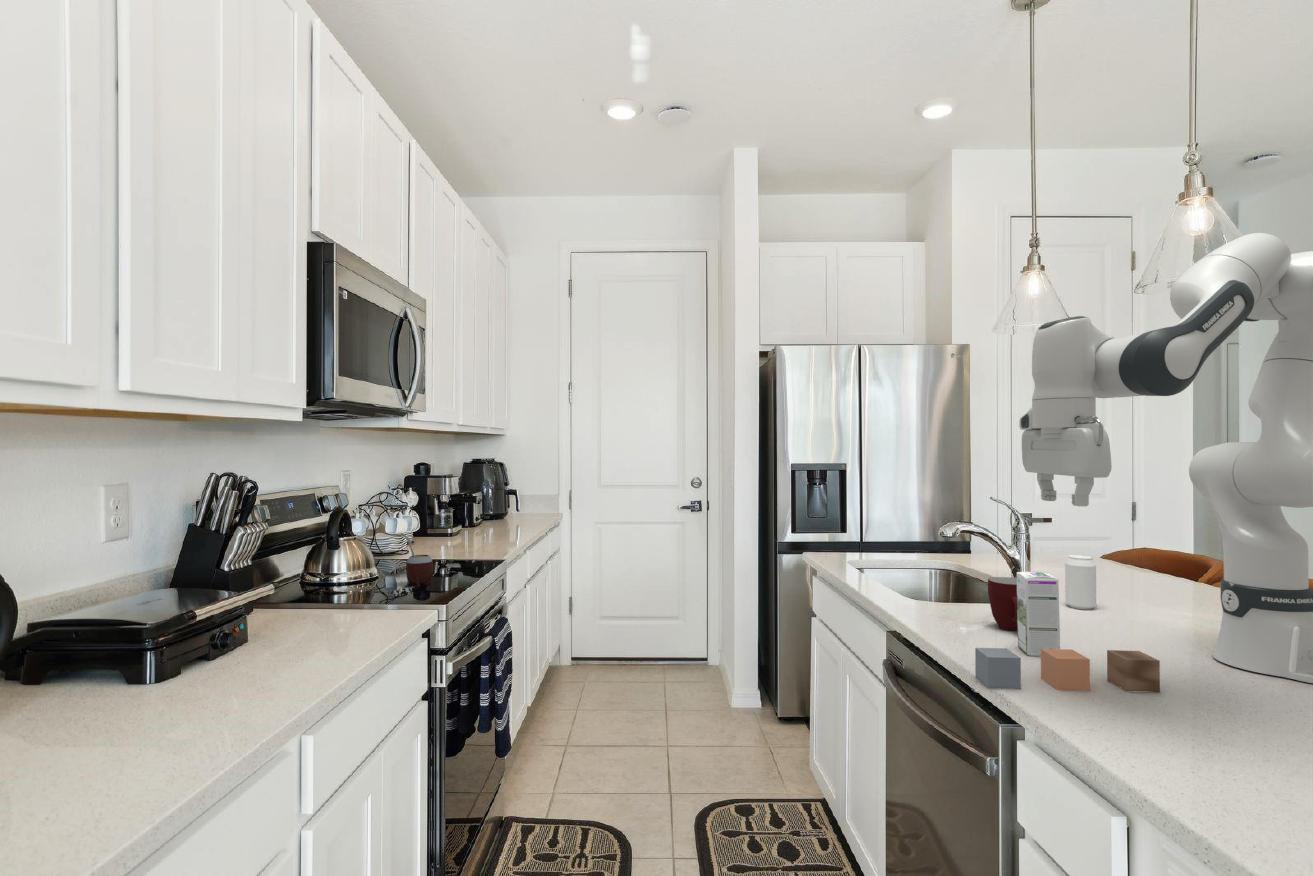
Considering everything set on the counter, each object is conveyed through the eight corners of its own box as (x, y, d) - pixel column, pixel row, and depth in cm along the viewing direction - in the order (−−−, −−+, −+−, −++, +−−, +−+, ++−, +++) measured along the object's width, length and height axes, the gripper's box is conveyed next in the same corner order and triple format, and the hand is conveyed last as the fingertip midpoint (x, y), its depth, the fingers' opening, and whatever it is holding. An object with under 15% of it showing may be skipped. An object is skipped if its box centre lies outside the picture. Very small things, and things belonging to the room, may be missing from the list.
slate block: (1006, 678, 112) (1006, 648, 112) (1020, 689, 107) (1020, 658, 107) (975, 677, 112) (975, 647, 112) (988, 688, 107) (988, 657, 107)
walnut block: (1139, 681, 110) (1138, 650, 110) (1159, 692, 105) (1159, 660, 105) (1107, 680, 111) (1107, 650, 111) (1126, 692, 106) (1126, 660, 106)
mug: (1045, 637, 135) (1045, 587, 135) (1003, 637, 135) (1003, 587, 135) (1020, 623, 145) (1019, 577, 145) (981, 623, 146) (981, 576, 146)
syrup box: (1061, 658, 122) (1061, 577, 122) (1025, 656, 123) (1025, 576, 123) (1049, 648, 127) (1049, 571, 128) (1015, 646, 129) (1015, 570, 129)
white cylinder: (1096, 611, 155) (1096, 559, 155) (1064, 608, 158) (1064, 557, 159) (1096, 606, 160) (1096, 555, 160) (1065, 603, 164) (1065, 553, 164)
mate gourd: (435, 582, 189) (435, 528, 189) (429, 588, 181) (429, 532, 181) (407, 583, 188) (407, 529, 188) (400, 589, 180) (400, 533, 180)
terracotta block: (1072, 680, 111) (1072, 649, 111) (1089, 691, 106) (1089, 659, 106) (1040, 679, 111) (1040, 649, 111) (1056, 690, 106) (1056, 658, 106)
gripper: (1123, 415, 98) (1124, 509, 98) (1051, 419, 119) (1051, 498, 119) (1078, 415, 99) (1079, 509, 99) (1014, 419, 119) (1014, 498, 119)
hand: (1063, 503), depth 109 cm, fingers open, 8 cm apart
